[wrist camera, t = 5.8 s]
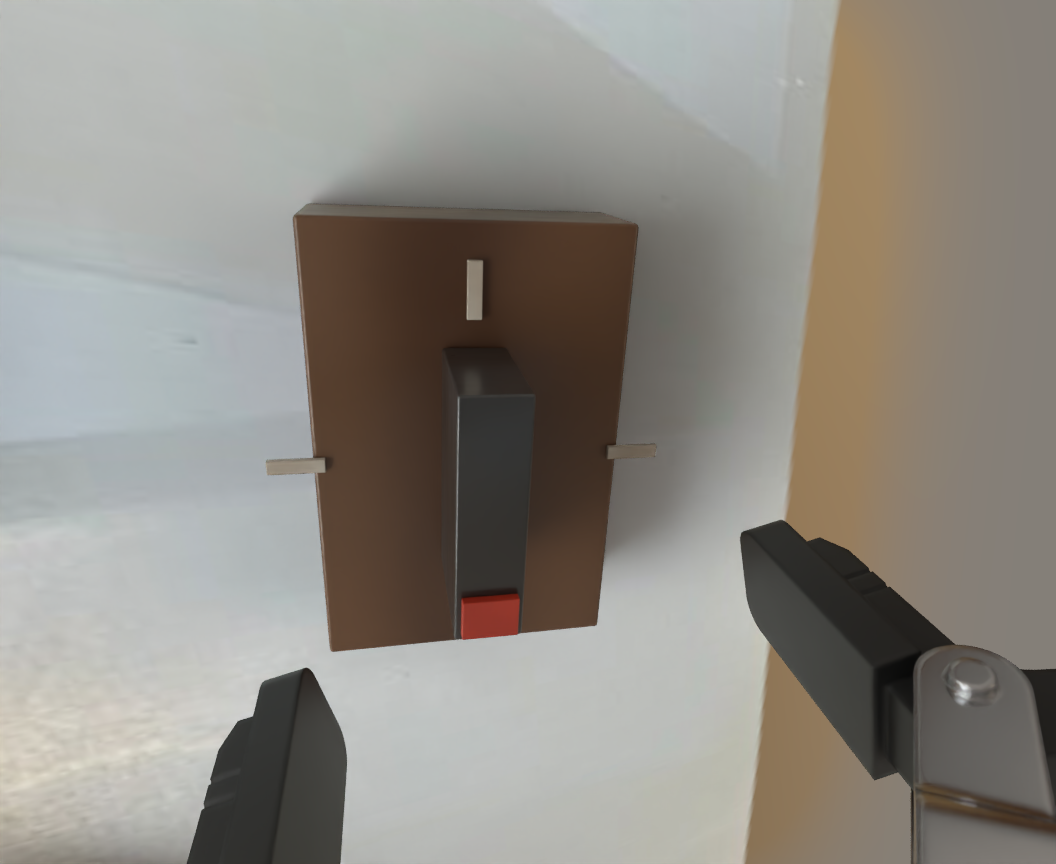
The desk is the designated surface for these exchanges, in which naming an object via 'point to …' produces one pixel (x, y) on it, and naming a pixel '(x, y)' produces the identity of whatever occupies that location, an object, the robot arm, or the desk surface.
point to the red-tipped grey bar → (485, 489)
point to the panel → (416, 398)
